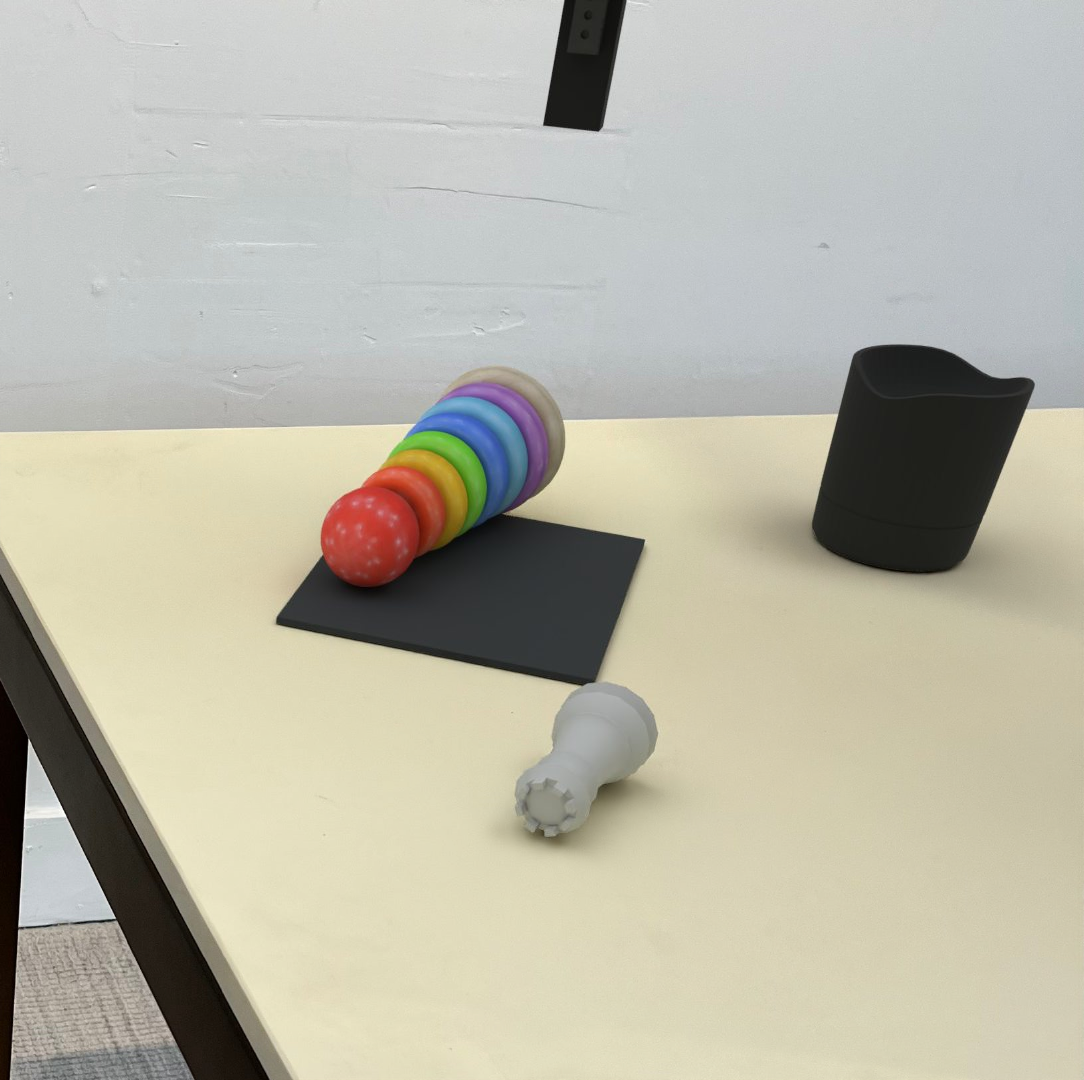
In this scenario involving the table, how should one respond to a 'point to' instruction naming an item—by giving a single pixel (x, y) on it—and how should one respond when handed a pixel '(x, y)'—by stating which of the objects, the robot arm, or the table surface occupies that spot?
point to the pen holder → (915, 457)
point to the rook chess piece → (585, 756)
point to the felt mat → (488, 599)
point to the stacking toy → (448, 475)
